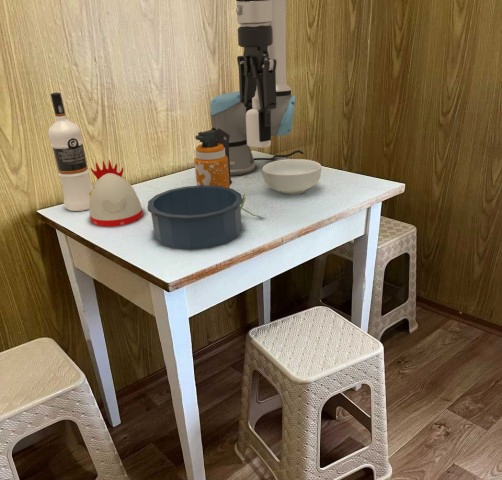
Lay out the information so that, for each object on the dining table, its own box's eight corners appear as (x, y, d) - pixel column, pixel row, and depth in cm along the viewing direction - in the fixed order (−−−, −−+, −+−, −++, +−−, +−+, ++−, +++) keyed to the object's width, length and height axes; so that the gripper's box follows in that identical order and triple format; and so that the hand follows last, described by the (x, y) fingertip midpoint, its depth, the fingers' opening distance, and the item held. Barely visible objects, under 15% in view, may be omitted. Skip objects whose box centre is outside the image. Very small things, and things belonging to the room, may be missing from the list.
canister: (192, 205, 145) (184, 131, 134) (220, 195, 152) (214, 123, 141) (214, 212, 140) (207, 135, 129) (242, 201, 146) (238, 126, 135)
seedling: (250, 236, 137) (228, 224, 136) (261, 211, 139) (240, 199, 137) (258, 228, 130) (235, 215, 129) (270, 201, 132) (248, 188, 131)
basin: (218, 208, 142) (216, 179, 138) (260, 235, 125) (259, 203, 121) (140, 227, 133) (134, 197, 129) (173, 258, 117) (168, 225, 112)
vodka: (92, 198, 154) (67, 88, 138) (102, 207, 148) (78, 92, 131) (61, 205, 150) (32, 93, 133) (70, 214, 143) (41, 97, 127)
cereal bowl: (306, 178, 161) (307, 155, 157) (330, 194, 148) (331, 169, 144) (255, 186, 157) (254, 162, 153) (274, 203, 144) (274, 177, 140)
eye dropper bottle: (258, 142, 127) (256, 88, 120) (273, 146, 123) (272, 91, 117) (244, 145, 125) (241, 91, 118) (259, 149, 121) (257, 94, 114)
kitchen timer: (90, 211, 145) (78, 157, 136) (139, 205, 147) (130, 151, 139) (91, 229, 133) (78, 171, 125) (145, 222, 136) (135, 164, 128)
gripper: (220, 25, 116) (227, 133, 128) (261, 27, 102) (264, 148, 115) (249, 22, 118) (253, 129, 131) (293, 24, 105) (293, 143, 118)
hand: (258, 138), depth 123 cm, fingers closed on eye dropper bottle, 5 cm apart
